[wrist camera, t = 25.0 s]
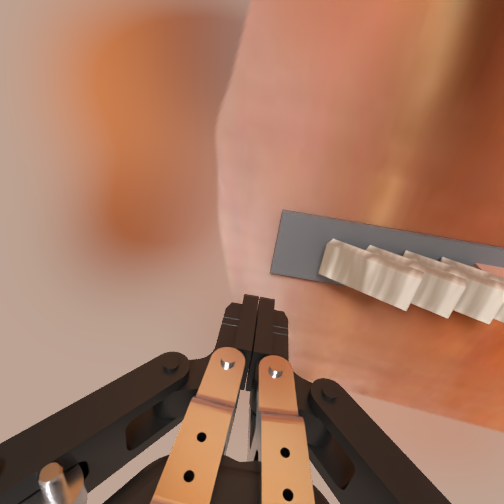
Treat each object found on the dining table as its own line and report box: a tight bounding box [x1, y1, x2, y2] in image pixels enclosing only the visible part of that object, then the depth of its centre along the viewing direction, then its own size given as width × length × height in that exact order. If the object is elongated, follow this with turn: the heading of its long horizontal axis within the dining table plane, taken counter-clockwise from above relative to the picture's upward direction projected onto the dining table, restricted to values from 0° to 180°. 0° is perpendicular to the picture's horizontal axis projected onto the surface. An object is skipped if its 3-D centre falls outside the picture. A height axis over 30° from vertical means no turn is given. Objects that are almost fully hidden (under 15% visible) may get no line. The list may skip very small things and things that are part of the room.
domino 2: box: [366, 245, 466, 319], centre depth 41 cm, size 2×5×12 cm
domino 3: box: [403, 250, 504, 324], centre depth 40 cm, size 2×5×12 cm
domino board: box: [270, 210, 504, 287], centre depth 44 cm, size 10×32×1 cm, turn 82°
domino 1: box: [318, 239, 424, 311], centre depth 41 cm, size 2×5×12 cm
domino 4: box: [440, 257, 504, 323], centre depth 40 cm, size 2×5×12 cm
